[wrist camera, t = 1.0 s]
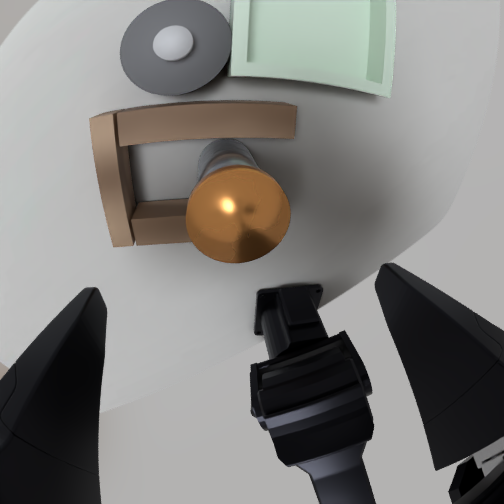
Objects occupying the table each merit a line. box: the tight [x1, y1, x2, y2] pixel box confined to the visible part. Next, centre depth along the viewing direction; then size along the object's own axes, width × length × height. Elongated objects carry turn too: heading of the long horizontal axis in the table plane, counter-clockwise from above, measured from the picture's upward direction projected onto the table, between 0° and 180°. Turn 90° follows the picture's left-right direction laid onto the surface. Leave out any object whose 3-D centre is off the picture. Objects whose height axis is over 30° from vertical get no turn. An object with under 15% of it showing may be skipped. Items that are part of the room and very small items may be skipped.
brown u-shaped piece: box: [89, 100, 297, 247], centre depth 16 cm, size 9×12×2 cm
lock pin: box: [186, 139, 291, 263], centre depth 14 cm, size 4×4×8 cm
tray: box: [227, 0, 396, 98], centre depth 11 cm, size 10×10×3 cm
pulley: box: [120, 0, 232, 95], centre depth 11 cm, size 6×6×3 cm
